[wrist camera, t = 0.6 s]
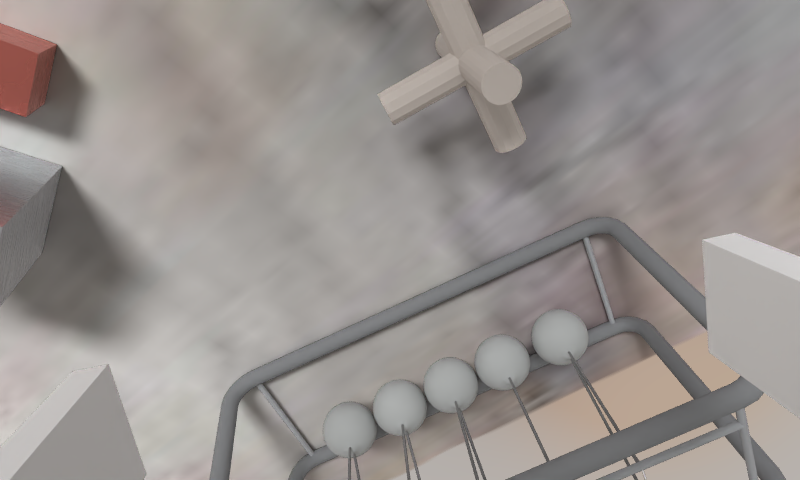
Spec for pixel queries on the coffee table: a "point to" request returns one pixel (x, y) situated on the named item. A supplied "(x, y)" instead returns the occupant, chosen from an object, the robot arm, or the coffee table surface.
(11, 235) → the light grey block
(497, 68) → the beige peg jack
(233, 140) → the coffee table surface
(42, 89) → the ratchet
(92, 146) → the coffee table surface
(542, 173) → the coffee table surface
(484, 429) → the coffee table surface
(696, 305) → the newton's cradle
